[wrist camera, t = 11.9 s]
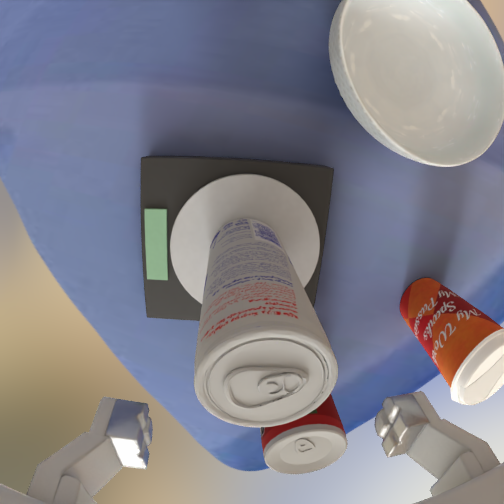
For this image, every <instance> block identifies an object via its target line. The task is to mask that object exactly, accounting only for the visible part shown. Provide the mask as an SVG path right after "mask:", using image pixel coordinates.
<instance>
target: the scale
mask: <svg viewBox="0 0 504 504" xmlns="http://www.w3.org/2000/svg"><path fill="white" fill-rule="evenodd" d="M333 172H334V169H333V168H330V167H327V166H323V165H314V164H304V163H294V162H283V161H272V160H258V159H243V158H225V157H201V156H146V157H142V158H141V237H142V259H143V276H144V290H145V302H146V313H147V317H149V318H163V319H178V320H196V321H200V316H201V308H202V301H203V294H204V287H205V280H206V273H207V266H208V259H209V253H210V246H211V242H212V240H213V238H214V236H215V234H216V233H217V232H218V230H220V229H221V228H222V227H223V226H224V225H226V224H227V223H229V222H231V221H234V220H237V219H242V218H251V219H257V220H260V221H262V222H264V223H266V224H268V225H269V226H270V227H271V228H272V229H273V230H274V231H275V232H276V233H277V235H278V237H279V239H280V241H281V243H282V245H283V247H284V249H285V251H286V253H287V255H288V257H289V259H290V261H291V263H292V265H293V267H294V269H295V271H296V273H297V275H298V277H299V279H300V281H301V283H302V286H303V288H304V290H305V292H306V294H307V296H308V298H309V300H310V302H311V304H312V306H313V308H314V303H315V297H316V291H317V286H318V280H319V274H320V267H321V261H322V255H323V248H324V241H325V235H326V228H327V220H328V213H329V205H330V197H331V189H332V181H333Z"/></svg>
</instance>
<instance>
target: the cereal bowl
mask: <svg viewBox="0 0 504 504" xmlns="http://www.w3.org/2000/svg"><path fill="white" fill-rule="evenodd" d="M329 35H330V36H329V57H330V64H331V70H332V72H333V76H334V79H335V83H336V84H337V88H338V89H339V91H340V95H341V96H342V98H343V100H344V101H345V103H346V106H347V107H348V108H349V109H350V111H351V113H352V114H353V116H354V117H355V118H356V119H357V121H358V122H359V123H360V124H361V125H362V127H363V128H365V129H366V131H367V132H368V133H370V135H372V136H373V137H374V138H375V139H376V140H377V141H379V142H380V143H381V144H383V145H385V146H386V147H388V148H389V149H391V150H392V151H394V152H396V153H398V154H399V155H402V156H404V157H406V158H408V159H412V160H414V161H416V162H420V163H423V164H428V165H431V166H439V167H453V166H458V165H462V164H465V163H468V162H470V161H472V160H474V159H476V158H477V157H479V156H480V155H482V154H483V153H484V152H485V151H486V150H487V149H488V148H489V146H490V145H491V144H492V143H493V141H494V140H495V138H496V136H497V135H498V133H499V131H500V128H501V125H502V123H503V120H504V66H503V62H502V58H501V55H500V52H499V50H498V47H497V45H496V42H495V40H494V38H493V36H492V34H491V32H490V30H489V28H488V27H487V25H486V24H485V22H484V21H483V19H482V18H481V16H480V15H479V14H478V12H477V11H476V10H475V9H474V8H473V6H472V5H471V4H470V3H469V2H468V1H467V0H342V1H341V2H340V4H339V6H338V8H337V10H336V12H335V15H334V17H333V20H332V25H331V28H330V34H329Z"/></svg>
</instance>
